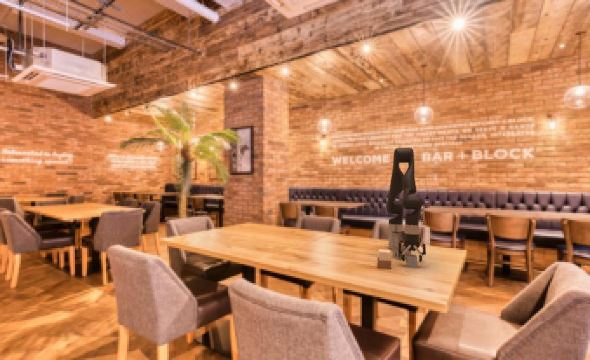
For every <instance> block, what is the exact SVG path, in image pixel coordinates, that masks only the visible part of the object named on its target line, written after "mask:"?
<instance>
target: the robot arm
mask: <svg viewBox="0 0 590 360" xmlns="http://www.w3.org/2000/svg"><path fill="white" fill-rule="evenodd" d="M400 164H408V166H407V169H406V171H405V173H403V171H402V169H401V167H400ZM417 191H418V190H417V185H416V179H415V153H414V149H413V148H412V147H396V148H395V149H394V152H393V159H392V172H391V177H390V183H389V191H388V198H387V201H386V208H385V209H386V212H387V213H388V214H390V215H396V216H394V217H392V218H389V219H388V250H392V232H393V231H405V242H404V243H401V242H399V246H398V252H399V253H400V254H402V259H401V260H402V261H403V262H406V261H405V260H406V259H405V255H404V254H405V252H407V250H409V251H411V252H417V253H418V254H419V255H418V261H419V262H418V263H422V262H423V256H426V255H427V249H426V248H427V247H426V243H424V242H423V243H420V224H419V222H420V221H419V220H420V214H421V211H422V207H423V200H422V198H421V197H420V196H413V195H415V194H416V193H417ZM401 193H403V194H402V200H395V199H396V198H397V197H398V196H400V194H401ZM404 210H413V211H412V212H410V213H405V216H404ZM404 220H405V221H404ZM403 221H404V224H403ZM403 226H404V227H403ZM403 229H404V230H403ZM403 245H404V246H405V248H404V250H403V251H401V246H403ZM420 247H421V249H422V252H421V250H420V249H419V248H420Z"/></svg>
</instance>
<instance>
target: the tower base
mask: <svg viewBox="0 0 590 360" xmlns="http://www.w3.org/2000/svg"><path fill="white" fill-rule="evenodd" d="M377 269H384V270H385V269H386V270H392V260H391V261H384V260H379V256H377Z"/></svg>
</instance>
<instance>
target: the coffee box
mask: <svg viewBox="0 0 590 360" xmlns="http://www.w3.org/2000/svg"><path fill="white" fill-rule="evenodd" d="M399 242H401V243H404V242H405V230H403V231H393V232H392V249H391V250H392V252H391V253H392V258H394V259H396V260H398V261H399V260H402V254H400V253H399V252H398V246H399ZM404 248H405V246H404V245H403V246H401V251H403V250H404ZM406 254H412V251H409V250H407V252H405V254H404V255H405V260H406Z"/></svg>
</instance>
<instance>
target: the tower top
mask: <svg viewBox="0 0 590 360" xmlns="http://www.w3.org/2000/svg"><path fill="white" fill-rule="evenodd" d="M391 253H392V252H391V249H380V248H379V249H378V257H379V260H384V261H391V262H392V259H391Z"/></svg>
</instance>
